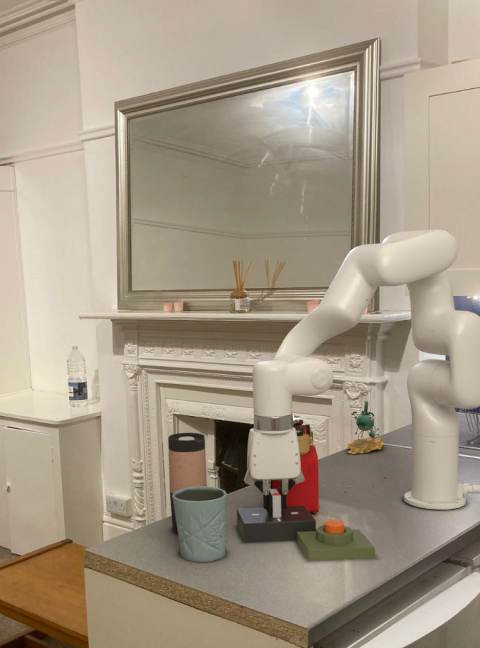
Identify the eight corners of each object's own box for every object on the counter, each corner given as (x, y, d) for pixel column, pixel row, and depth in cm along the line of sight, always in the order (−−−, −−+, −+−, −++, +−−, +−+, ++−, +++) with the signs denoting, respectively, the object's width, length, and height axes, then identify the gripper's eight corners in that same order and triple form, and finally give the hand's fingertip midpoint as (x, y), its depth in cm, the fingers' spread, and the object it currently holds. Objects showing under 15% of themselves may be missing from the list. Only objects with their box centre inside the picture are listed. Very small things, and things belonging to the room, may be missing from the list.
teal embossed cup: (237, 558, 152) (235, 496, 150) (187, 567, 149) (184, 503, 147) (214, 541, 161) (212, 483, 160) (167, 549, 159) (164, 489, 157)
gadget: (304, 523, 169) (304, 504, 169) (316, 540, 159) (315, 519, 159) (237, 526, 170) (236, 507, 169) (244, 543, 160) (244, 522, 159)
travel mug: (170, 525, 173) (166, 433, 170) (206, 523, 173) (203, 431, 170) (172, 537, 165) (168, 441, 163) (210, 535, 165) (207, 439, 162)
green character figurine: (399, 444, 233) (397, 395, 230) (367, 463, 222) (364, 412, 218) (368, 439, 240) (365, 391, 237) (335, 458, 229) (332, 408, 225)
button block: (358, 540, 158) (358, 520, 158) (374, 558, 148) (374, 537, 148) (296, 542, 159) (296, 522, 158) (308, 561, 149) (308, 540, 148)
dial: (268, 510, 167) (268, 487, 166) (276, 510, 166) (276, 487, 166) (273, 517, 162) (272, 494, 161) (281, 517, 162) (280, 494, 161)
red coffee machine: (319, 519, 172) (318, 426, 169) (270, 518, 174) (268, 427, 171) (314, 497, 187) (313, 412, 184) (269, 497, 189) (267, 413, 186)
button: (341, 528, 155) (341, 519, 154) (346, 534, 151) (346, 525, 151) (322, 529, 155) (322, 520, 154) (327, 535, 151) (327, 526, 151)
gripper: (308, 417, 165) (310, 505, 167) (230, 420, 165) (233, 508, 168) (317, 424, 157) (318, 516, 160) (235, 428, 158) (238, 519, 161)
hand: (274, 511), depth 164 cm, fingers closed on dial
